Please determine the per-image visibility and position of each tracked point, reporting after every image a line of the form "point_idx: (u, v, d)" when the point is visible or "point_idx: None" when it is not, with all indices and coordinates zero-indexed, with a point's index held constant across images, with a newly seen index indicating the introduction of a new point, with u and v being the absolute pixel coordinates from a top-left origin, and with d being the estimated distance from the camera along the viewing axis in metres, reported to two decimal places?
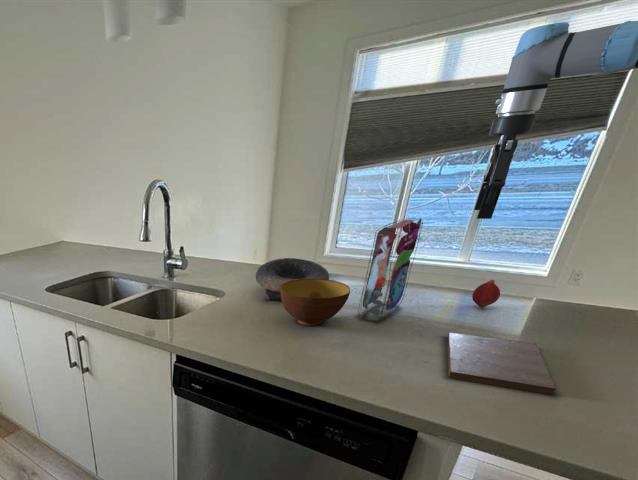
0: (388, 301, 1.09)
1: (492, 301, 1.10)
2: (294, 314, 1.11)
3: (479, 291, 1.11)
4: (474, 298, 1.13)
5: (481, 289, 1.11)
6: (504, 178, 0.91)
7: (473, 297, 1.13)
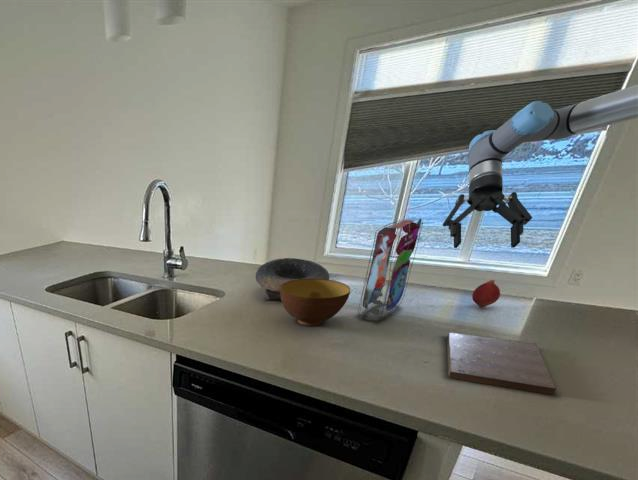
0: (388, 301, 1.09)
1: (492, 301, 1.10)
2: (294, 314, 1.11)
3: (479, 291, 1.11)
4: (474, 298, 1.13)
5: (481, 289, 1.11)
6: (447, 217, 1.19)
7: (473, 297, 1.13)
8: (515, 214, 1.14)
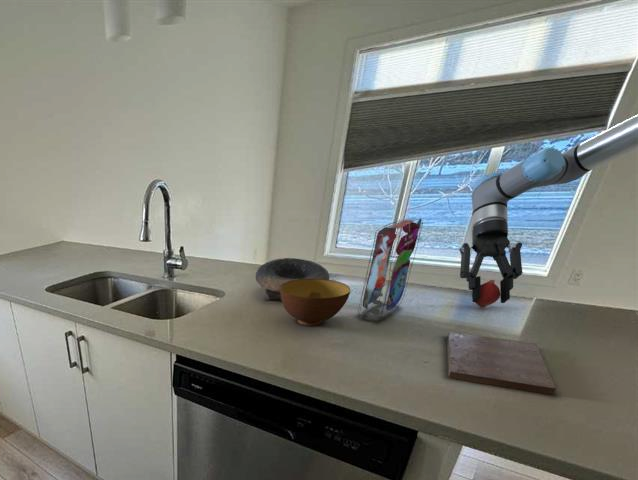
0: (388, 301, 1.09)
1: (492, 301, 1.10)
2: (294, 314, 1.11)
3: None
4: None
5: (482, 289, 1.11)
6: (463, 269, 1.13)
7: None
8: (508, 267, 1.09)
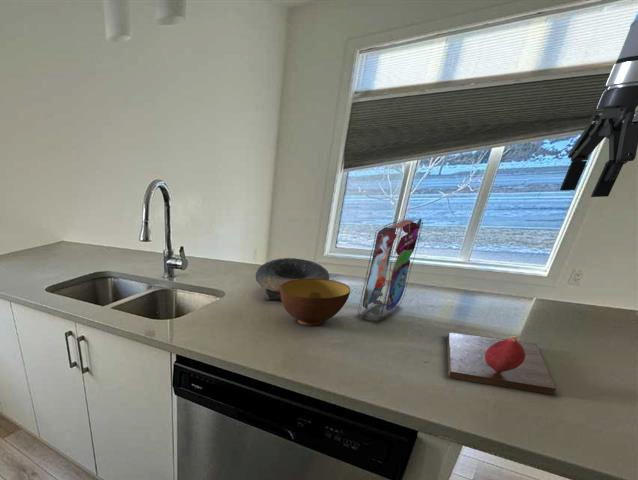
0: (388, 301, 1.09)
1: (514, 366, 0.78)
2: (294, 314, 1.11)
3: (495, 351, 0.79)
4: (488, 360, 0.81)
5: (499, 349, 0.79)
6: None
7: (486, 358, 0.81)
8: (611, 152, 0.88)
